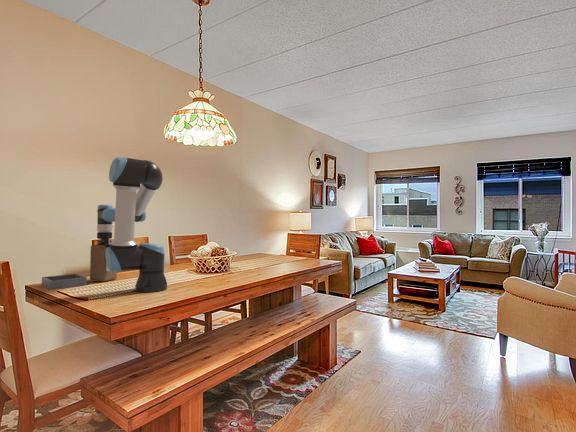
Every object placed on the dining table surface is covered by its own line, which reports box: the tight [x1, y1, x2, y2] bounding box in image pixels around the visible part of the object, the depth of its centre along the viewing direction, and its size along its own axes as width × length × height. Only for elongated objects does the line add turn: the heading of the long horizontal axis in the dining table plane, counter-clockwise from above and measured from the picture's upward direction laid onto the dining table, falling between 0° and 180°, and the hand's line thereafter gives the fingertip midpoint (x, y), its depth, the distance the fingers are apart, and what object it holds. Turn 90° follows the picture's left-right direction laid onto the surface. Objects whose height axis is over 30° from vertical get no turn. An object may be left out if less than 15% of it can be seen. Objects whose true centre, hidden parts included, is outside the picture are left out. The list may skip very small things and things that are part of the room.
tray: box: [41, 273, 88, 291], centre depth 173 cm, size 16×16×4 cm
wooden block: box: [89, 244, 118, 283], centre depth 187 cm, size 10×10×20 cm
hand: (104, 269), depth 187 cm, fingers open, 13 cm apart
